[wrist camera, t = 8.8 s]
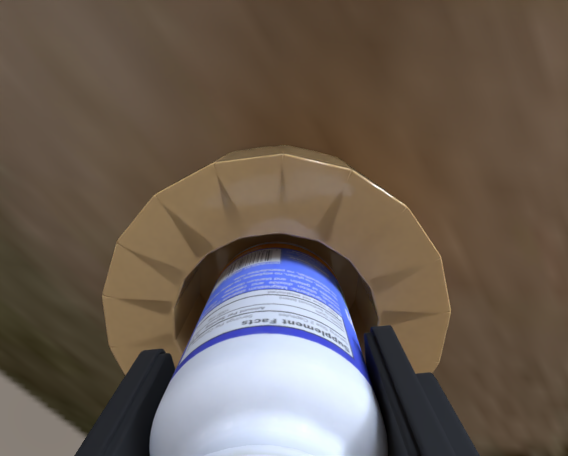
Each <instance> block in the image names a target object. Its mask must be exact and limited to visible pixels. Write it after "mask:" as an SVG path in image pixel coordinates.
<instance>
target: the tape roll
mask: <svg viewBox="0 0 568 456" xmlns="http://www.w3.org/2000/svg"><path fill="white" fill-rule="evenodd" d="M266 242H287V243H292V244H296V245H299V246H302V247H304V248H307V249H309V250H310V251H312V252H314V253H315V254H317V255H318V256H319V257H321V258H322V259H323V260H324V261H325V262H326V263H327V264H328V265H329V266H330V267H331V269H332V270H333V271H334V273H335V275H336V277H337V279H338V281H339V283H340V286H341V288H342V291H343V294H344V297H345V301H346V304H347V307H348V310H349V314H350V316H351V320H352V323H353V326H354V329H355V332H356V336H357V339H358V342H359V345H360V348H361V351H362V354H363V357H364V360H365V345H364V333H370V328H371V327H376V326H386V325H391V326H392V328H393V330H394V332H395V334H396V336H397V338H398V340H399V342H400V344H401V346H402V348H403V350H404V352H405V354H406V356H407V358H408V360H409V362H410V364H411V366H412V368H413V370H414V372H415V374H416V373H427V372H431V373H433V372H434V370H435V369H436V367H437V366H438V364H439V362H440V358H441V354H442V349H443V345H444V341H445V337H446V332H447V328H448V324H449V319H450V315H451V312H450V311H451V308H450V302H449V297H448V291H447V286H446V280H445V275H444V269H443V263H442V258H441V255H440V254H439V252H438V251H437V249H436V248H435V246H434V245H433V243H432V242H431V240H430V239H429V237H428V236H427V234H426V233H425V231H424V230H423V228H422V227H421V225H420V224H419V222H418V221H417V219H416V218H415V216H414V215H413V213H412V212H411V210H410V209H409V208H408V207H407V206H406V205H405V204H404V203H402V202H401V201H400V200H398V199H397V198H395V197H394V196H393V195H391V194H390V193H389V192H387V191H386V190H385V189H383V188H382V187H380V186H379V185H378V184H376V183H375V182H373V181H372V180H370V179H369V178H367V177H366V176H364V175H363V174H361V173H360V172H358V171H357V170H355V169H354V168H352V167H351V166H350V165H348V164H347V163H345V162H344V161H342V160H341V159H339V158H336V157H335V156H331V155H327V154H322V153H319V152H316V151H311V150H307V149H302V148H296V147H292V146H288V145H285V146H284V145H279V146H271V147H259V148H254V149H249V150H241V151H234V152H230V153H228V154H227V155H225V156H223V157H221V158H219V159H217V160H216V161H214V162H212V163H210V164H208V165H206V166H204V167H203V168H201V169H199V170H197V171H195V172H193V173H192V174H190V175H188V176H186V177H184V178H183V179H181V180H179V181H177V182H175V183H174V184H172V185H170V186H168V187H167V188H165V189H163V190H161V191H160V192H158V193H156V194H155V195H154V196H153V197H152V198H151V199H150V200H149V202H148V203H147V204H146V205H145V207H144V208H143V209H142V210H141V211H140V213H139V214H138V215H137V216H136V218H135V219H134V220H133V221H132V223H131V224H130V225H129V226H128V228H127V229H126V230H125V231H124V232H123V234H122V235H121V236H120V237H119V239H118V240H117V243H116V246H115V249H114V253H113V257H112V260H111V264H110V267H109V271H108V275H107V278H106V282H105V286H104V289H103V293H102V294H103V295H102V301H103V308H104V315H105V322H106V329H107V337H108V344H109V346H110V350H111V351H112V353H113V355H114V357H115V358H116V360H117V362H118V364H119V365H120V367H121V369H122V371H123V373H124V374H125V376H126V374H127V373H128V371H129V369H130V368H131V366H132V365H133V363H134V361H135V360H136V358H137V357H138V355H139V354H140V352H141V351H143V350H151V349H161V348H162V349H164V350H165V352H166V353H170V354H171V356H172V359H173V363H174V366H175V370H176V368H177V365H178V363H179V361H180V359H181V357H182V355H183V353H184V350H185V348H186V346H187V344H188V342H189V340H190V338H191V336H192V333H193V331H194V329H195V327H196V325H197V323H198V321H199V318H200V316H201V314H202V312H203V310H204V308H205V305H206V303H207V301H208V299H209V297H210V294H211V292H212V290H213V287H214V285H215V283H216V281H217V279H218V277H219V275H220V273H221V272H222V270H223V269H224V267H225V266H226V265H227V264H228V263H229V261H230V260H232V259H233V258H234V257H235V256H236V255H237V254H239V253H240V252H242V251H243V250H245V249H247V248H249V247H252V246H254V245H257V244H261V243H266ZM365 363H366V360H365Z"/></svg>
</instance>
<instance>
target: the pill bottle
mask: <svg viewBox="0 0 568 456" xmlns="http://www.w3.org/2000/svg"><path fill="white" fill-rule="evenodd" d="M149 450H150V456H388V441H387V433H386V428H385V423H384V420H383V416H382V413H381V410H380V407H379V403H378V400H377V397H376V394H375V391H374V388H373V385H372V382H371V379H370V376H369V372H368V369H367V366H366V363H365V360H364V357H363V354H362V351H361V348H360V345H359V342H358V339H357V336H356V332H355V329H354V326H353V323H352V320H351V316H350V314H349V310H348V307H347V304H346V301H345V297H344V294H343V291H342V288H341V286H340V283H339V281H338V279H337V277H336V275H335V273H334V271H333V270H332V269H331V267H330V266H329V265H328V264H327V263H326V262H325V261H324V260H323V259H322V258H321V257H319V256H318V255H317V254H315V253H314V252H312V251H310V250H309V249H307V248H304V247H302V246H299V245H296V244H292V243H287V242H266V243H261V244H257V245H254V246H252V247H249V248H247V249H245V250H243V251H242V252H240V253H239V254H237V255H236V256H235V257H234V258H233V259H232V260H230V261H229V263H228V264H227V265H226V266H225V267H224V269H223V270H222V272H221V273H220V275H219V277H218V279H217V281H216V283H215V285H214V287H213V290H212V292H211V294H210V297H209V299H208V301H207V303H206V305H205V308H204V310H203V312H202V314H201V316H200V318H199V321H198V323H197V325H196V327H195V329H194V331H193V333H192V336H191V338H190V340H189V342H188V344H187V346H186V348H185V350H184V353H183V355H182V357H181V359H180V361H179V363H178V365H177V368H176V370H175V372H174V374H173V376H172V378H171V380H170V382H169V385H168V387H167V389H166V391H165V393H164V395H163V397H162V399H161V402H160V404H159V406H158V409H157V411H156V414H155V417H154V420H153V423H152V428H151V433H150V445H149Z"/></svg>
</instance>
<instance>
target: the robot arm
mask: <svg viewBox="0 0 568 456" xmlns="http://www.w3.org/2000/svg"><path fill="white" fill-rule="evenodd" d="M364 345H365V360H366V366H367V369H368V372H369V376H370V379H371V382H372V385H373V388H374V391H375V394H376V397H377V400H378V403H379V407H380V410H381V413H382V416H383V420H384V423H385V428H386V433H387V441H388V456H480V455H479V454H478V452H477V450H476V448H475V447H474V445H473V443H472V441H471V439H470V438H469V436H468V434H467V432H466V431H465V429H464V427H463V425H462V424H461V422H460V420H459V418H458V417H457V415H456V413H455V411H454V410H453V408H452V406H451V404H450V402H449V401H448V399H447V397H446V395H445V394H444V392H443V390H442V388H441V387H440V385H439V383H438V381H437V380H436V378H435V377H434V375H433V374H432V373H431V372H427V373H416V374H415V372H414V370H413V368H412V366H411V364H410V362H409V360H408V358H407V356H406V354H405V352H404V350H403V348H402V346H401V344H400V342H399V340H398V338H397V336H396V334H395V332H394V330H393V328H392V326H391V325H386V326H376V327H371V328H370V333H364ZM174 372H175V366H174V363H173V359H172V356H171V354H170V353H166V352H165V350H164V349H162V348H161V349H151V350H143V351H141V352H140V354H139V355H138V357H137V358H136V360H135V361H134V363H133V365H132V366H131V368H130V369H129V371H128V373H127V374H126V376H125V377H124V379H123V380H122V382H121V384H120V385H119V387H118V388H117V390H116V391H115V393H114V395H113V396H112V398H111V399H110V401H109V402H108V404H107V406H106V407H105V409H104V410H103V412H102V413H101V415H100V416H99V418H98V419H97V421H96V423H95V424H94V426H93V427H92V429H91V430H90V432H89V434H88V435H87V437H86V438H85V440H84V441H83V443H82V445H81V447H80V448H79V449H78V451H77V452H76V454H75V456H150V450H149V445H150V433H151V428H152V423H153V420H154V417H155V414H156V411H157V409H158V406H159V404H160V402H161V399H162V397H163V395H164V393H165V391H166V389H167V387H168V385H169V382H170V380H171V378H172V376H173V374H174Z"/></svg>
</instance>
